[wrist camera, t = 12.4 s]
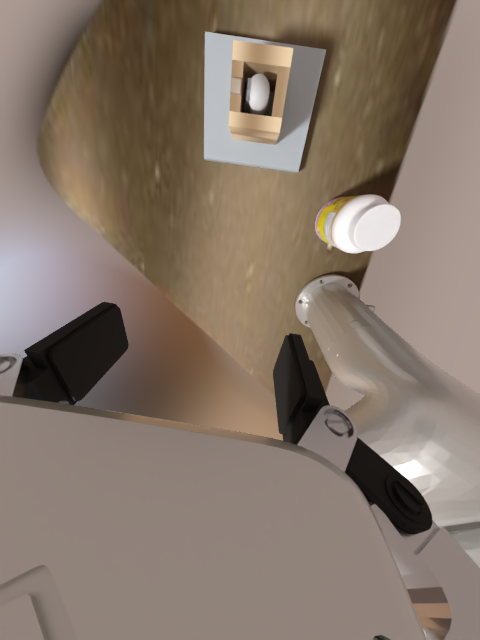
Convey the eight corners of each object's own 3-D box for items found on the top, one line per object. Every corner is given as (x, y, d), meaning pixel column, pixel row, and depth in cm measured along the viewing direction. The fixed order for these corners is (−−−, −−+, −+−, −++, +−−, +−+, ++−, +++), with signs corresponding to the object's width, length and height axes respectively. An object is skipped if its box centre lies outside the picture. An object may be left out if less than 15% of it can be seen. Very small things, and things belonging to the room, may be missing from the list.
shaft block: (322, 56, 22) (343, 11, 17) (296, 173, 28) (306, 165, 23) (207, 39, 22) (193, -12, 17) (205, 160, 28) (195, 149, 23)
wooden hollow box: (285, 78, 22) (294, 45, 18) (275, 144, 25) (280, 131, 21) (237, 71, 22) (232, 37, 18) (232, 139, 25) (228, 125, 21)
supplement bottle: (362, 198, 29) (427, 193, 18) (347, 242, 32) (394, 261, 22) (319, 196, 29) (358, 190, 18) (309, 240, 33) (337, 258, 22)
